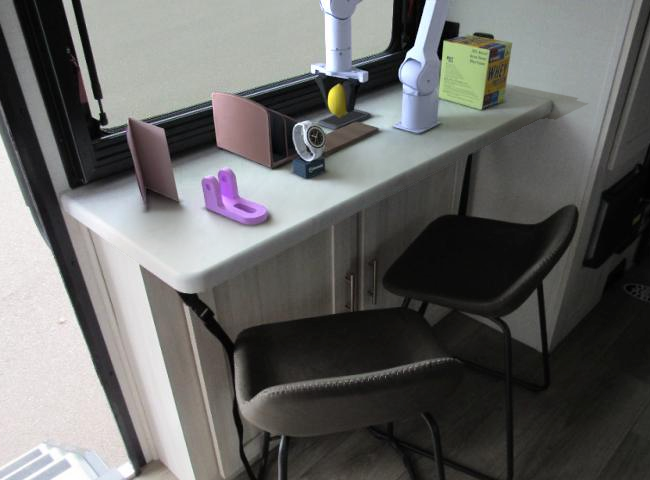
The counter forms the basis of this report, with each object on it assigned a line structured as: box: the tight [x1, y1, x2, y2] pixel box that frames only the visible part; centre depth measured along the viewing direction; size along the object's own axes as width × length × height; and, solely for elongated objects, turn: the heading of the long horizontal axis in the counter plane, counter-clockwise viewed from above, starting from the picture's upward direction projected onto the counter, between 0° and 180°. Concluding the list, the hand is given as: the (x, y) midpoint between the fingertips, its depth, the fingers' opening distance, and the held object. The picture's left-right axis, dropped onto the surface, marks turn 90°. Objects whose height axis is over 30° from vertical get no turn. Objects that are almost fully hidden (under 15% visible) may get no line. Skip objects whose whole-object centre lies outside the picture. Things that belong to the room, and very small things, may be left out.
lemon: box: [328, 83, 348, 118], centre depth 133 cm, size 6×6×8 cm
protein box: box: [438, 34, 513, 111], centre depth 157 cm, size 10×15×16 cm
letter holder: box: [211, 91, 301, 170], centre depth 131 cm, size 10×20×14 cm, turn 47°
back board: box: [304, 121, 380, 157], centre depth 139 cm, size 20×8×1 cm, turn 138°
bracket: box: [201, 167, 268, 225], centre depth 109 cm, size 13×6×7 cm, turn 52°
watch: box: [292, 120, 327, 180], centre depth 121 cm, size 6×8×11 cm
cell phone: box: [317, 108, 372, 131], centre depth 150 cm, size 7×14×1 cm, turn 138°
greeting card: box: [124, 116, 180, 209], centre depth 113 cm, size 11×7×15 cm, turn 16°
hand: (339, 108), depth 134 cm, fingers closed on lemon, 5 cm apart
